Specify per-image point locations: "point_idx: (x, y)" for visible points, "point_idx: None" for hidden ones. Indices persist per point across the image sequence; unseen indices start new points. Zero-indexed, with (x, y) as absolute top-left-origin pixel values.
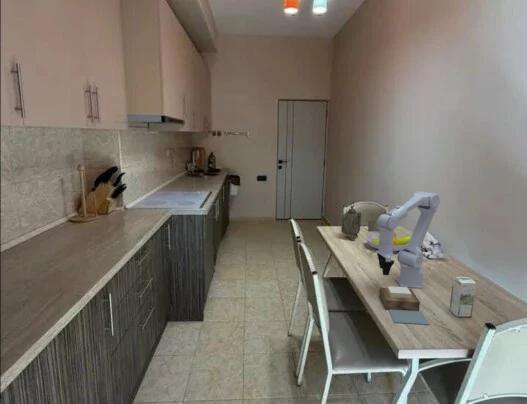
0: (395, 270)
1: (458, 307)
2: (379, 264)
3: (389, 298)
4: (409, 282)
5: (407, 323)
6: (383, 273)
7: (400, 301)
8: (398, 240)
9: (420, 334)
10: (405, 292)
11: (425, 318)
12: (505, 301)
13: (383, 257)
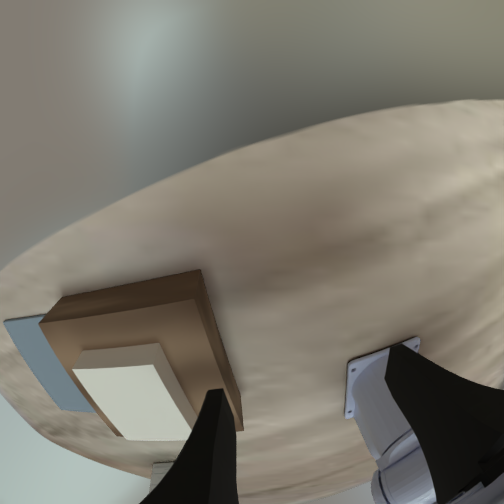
0: (487, 314)
1: (150, 486)
2: (414, 365)
3: (66, 343)
4: (358, 401)
5: (25, 358)
6: (203, 403)
7: (75, 381)
8: None
9: (8, 373)
10: (123, 425)
11: (83, 410)
12: (289, 500)
13: (446, 448)
